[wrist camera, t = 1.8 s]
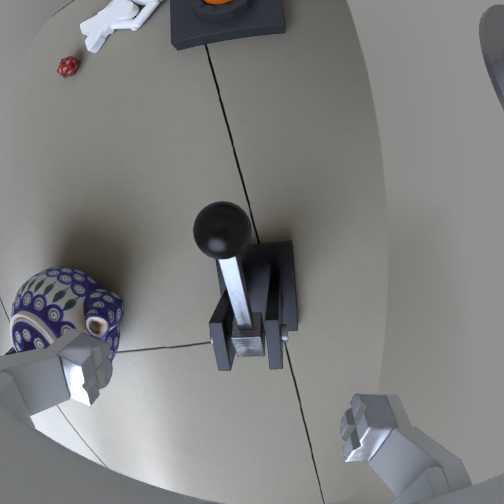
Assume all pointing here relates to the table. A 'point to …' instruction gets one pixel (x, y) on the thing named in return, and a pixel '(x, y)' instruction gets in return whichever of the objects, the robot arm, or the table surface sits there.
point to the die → (68, 67)
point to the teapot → (63, 310)
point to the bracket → (260, 301)
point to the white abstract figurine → (115, 20)
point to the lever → (232, 269)
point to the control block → (223, 21)
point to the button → (217, 1)
